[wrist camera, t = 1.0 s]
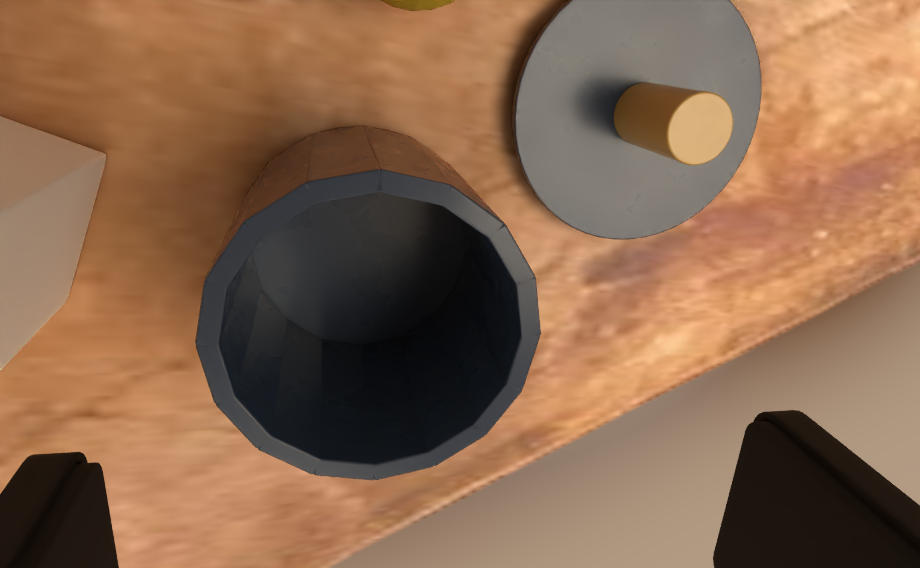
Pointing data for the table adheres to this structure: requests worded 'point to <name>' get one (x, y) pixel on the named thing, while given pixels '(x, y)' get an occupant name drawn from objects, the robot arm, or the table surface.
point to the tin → (365, 309)
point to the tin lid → (635, 111)
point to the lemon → (417, 4)
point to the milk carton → (40, 226)
